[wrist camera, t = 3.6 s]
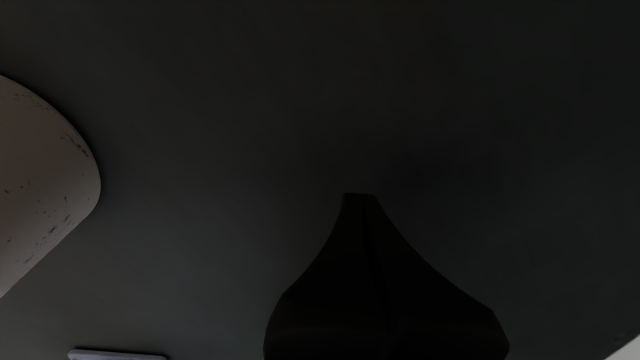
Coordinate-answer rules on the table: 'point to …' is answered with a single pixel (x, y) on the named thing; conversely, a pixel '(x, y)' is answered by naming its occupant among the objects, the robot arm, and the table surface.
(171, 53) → the table surface
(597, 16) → the table surface
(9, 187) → the teacup with lid
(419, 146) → the table surface
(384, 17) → the table surface
